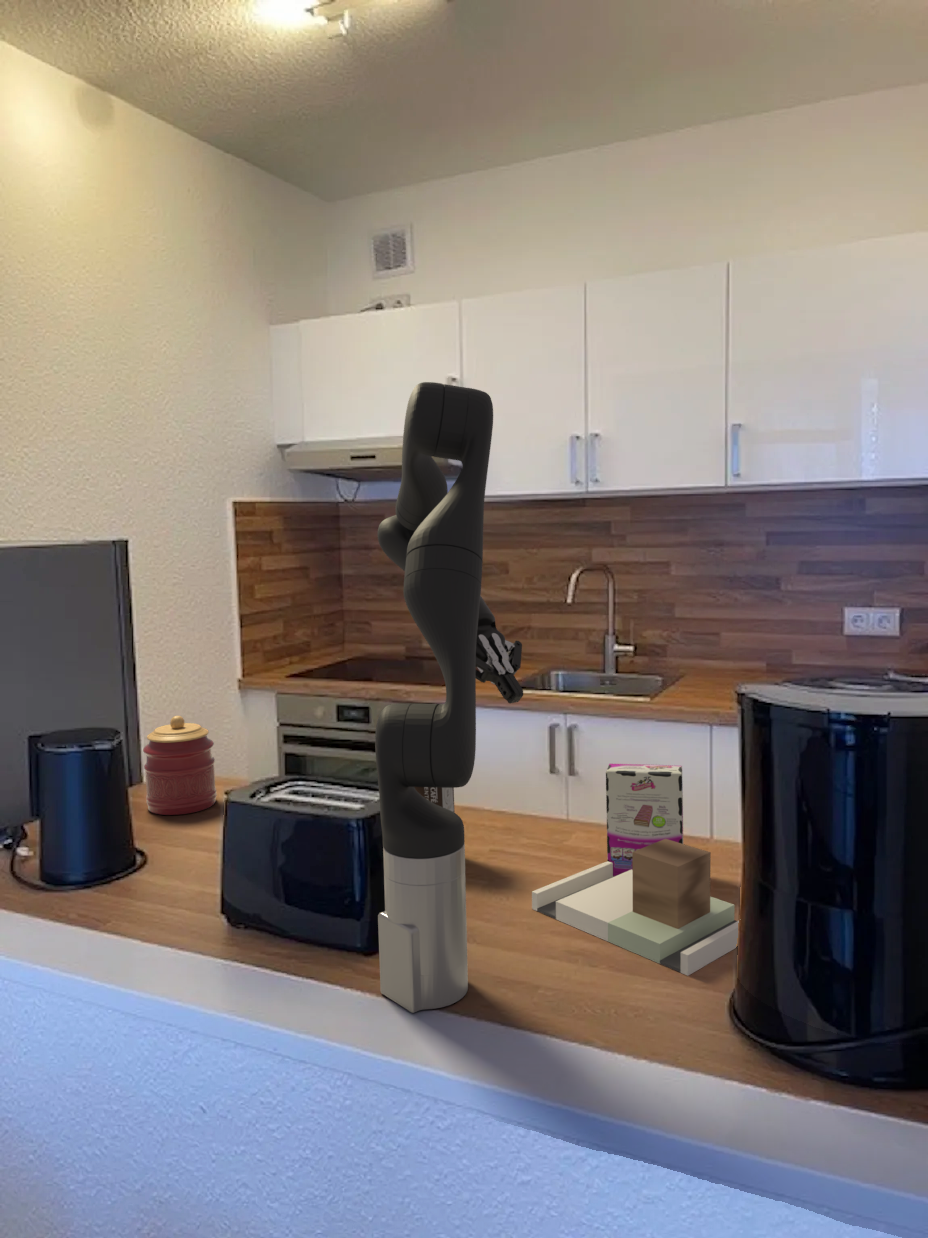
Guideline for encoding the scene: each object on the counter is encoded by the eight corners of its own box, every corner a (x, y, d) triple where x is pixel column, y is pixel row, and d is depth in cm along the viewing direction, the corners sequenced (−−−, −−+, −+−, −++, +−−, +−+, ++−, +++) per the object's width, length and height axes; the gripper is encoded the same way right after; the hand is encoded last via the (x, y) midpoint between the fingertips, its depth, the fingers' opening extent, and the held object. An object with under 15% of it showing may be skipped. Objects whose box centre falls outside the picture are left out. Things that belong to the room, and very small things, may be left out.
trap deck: (687, 975, 106) (687, 955, 106) (532, 909, 125) (531, 891, 125) (761, 932, 117) (762, 914, 116) (607, 877, 136) (607, 861, 135)
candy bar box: (683, 870, 138) (683, 764, 136) (683, 883, 133) (683, 773, 131) (609, 865, 141) (608, 761, 139) (606, 877, 136) (605, 770, 134)
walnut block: (677, 929, 113) (677, 866, 112) (632, 911, 118) (632, 852, 117) (710, 912, 117) (710, 852, 116) (665, 896, 122) (665, 838, 122)
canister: (200, 791, 185) (195, 706, 183) (228, 805, 175) (223, 715, 173) (136, 805, 176) (130, 716, 175) (162, 821, 167) (156, 726, 165)
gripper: (435, 594, 131) (494, 689, 122) (503, 589, 139) (562, 677, 131) (414, 629, 135) (469, 722, 127) (481, 622, 144) (537, 709, 135)
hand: (517, 699), depth 129 cm, fingers closed
